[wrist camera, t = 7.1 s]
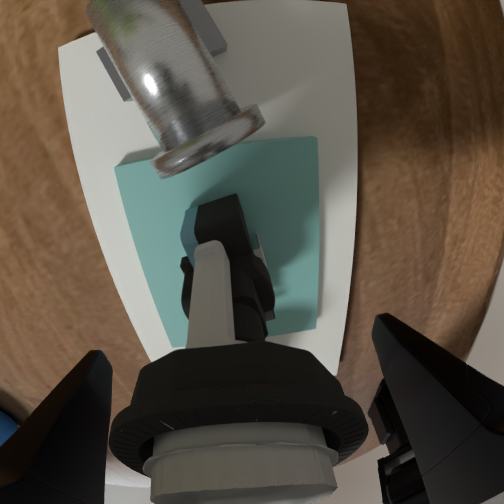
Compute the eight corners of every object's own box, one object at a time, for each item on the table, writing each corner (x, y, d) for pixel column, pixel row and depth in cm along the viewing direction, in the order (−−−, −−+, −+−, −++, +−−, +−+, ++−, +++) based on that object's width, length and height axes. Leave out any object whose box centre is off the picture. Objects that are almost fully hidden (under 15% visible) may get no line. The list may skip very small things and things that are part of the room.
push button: (303, 299, 14) (370, 497, 6) (202, 328, 15) (204, 526, 6) (269, 171, 11) (402, 422, 2) (143, 214, 11) (41, 462, 3)
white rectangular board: (339, 8, 9) (351, 0, 8) (333, 366, 20) (338, 381, 19) (66, 49, 8) (51, 46, 7) (171, 388, 20) (170, 403, 18)
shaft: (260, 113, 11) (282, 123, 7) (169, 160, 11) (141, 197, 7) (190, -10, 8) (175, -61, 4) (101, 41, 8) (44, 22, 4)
